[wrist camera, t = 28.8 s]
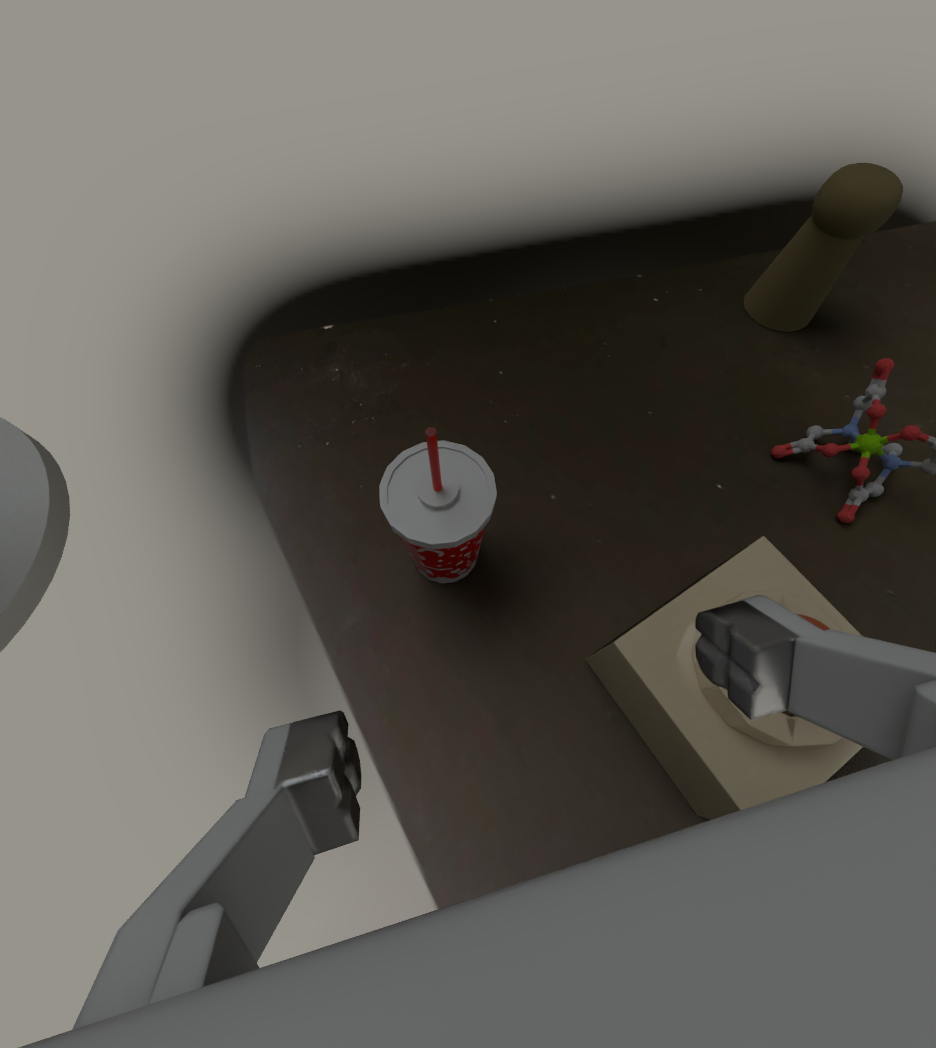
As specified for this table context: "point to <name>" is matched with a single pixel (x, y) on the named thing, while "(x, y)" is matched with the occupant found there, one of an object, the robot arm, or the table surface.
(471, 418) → the table surface
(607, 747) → the table surface
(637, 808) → the table surface
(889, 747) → the robot arm
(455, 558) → the beverage cup
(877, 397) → the molecular model
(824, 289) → the peg doll
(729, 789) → the button housing
